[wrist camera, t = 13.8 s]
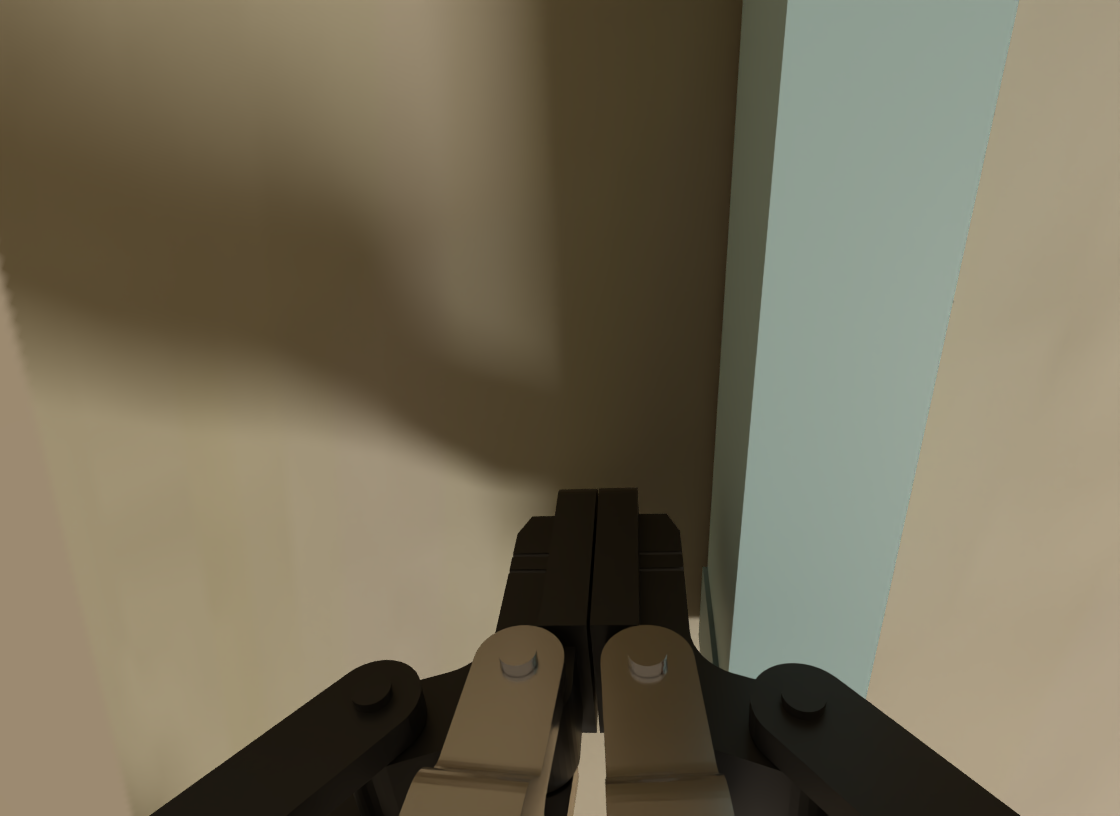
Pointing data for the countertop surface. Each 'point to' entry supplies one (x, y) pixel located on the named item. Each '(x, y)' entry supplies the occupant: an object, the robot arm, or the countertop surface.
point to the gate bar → (837, 310)
